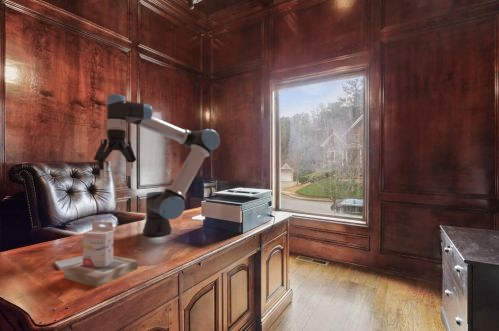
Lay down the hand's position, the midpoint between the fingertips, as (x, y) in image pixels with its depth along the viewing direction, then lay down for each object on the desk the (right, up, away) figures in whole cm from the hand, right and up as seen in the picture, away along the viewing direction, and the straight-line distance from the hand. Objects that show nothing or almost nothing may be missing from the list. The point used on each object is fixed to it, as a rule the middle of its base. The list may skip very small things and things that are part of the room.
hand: (116, 176), depth 119 cm
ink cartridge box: (+7, -30, -26) cm, 40 cm away
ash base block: (+8, -33, -26) cm, 43 cm away
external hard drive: (-8, -34, -16) cm, 38 cm away
